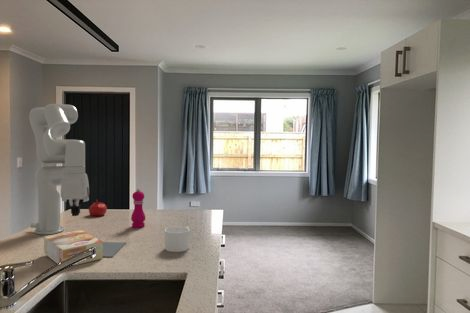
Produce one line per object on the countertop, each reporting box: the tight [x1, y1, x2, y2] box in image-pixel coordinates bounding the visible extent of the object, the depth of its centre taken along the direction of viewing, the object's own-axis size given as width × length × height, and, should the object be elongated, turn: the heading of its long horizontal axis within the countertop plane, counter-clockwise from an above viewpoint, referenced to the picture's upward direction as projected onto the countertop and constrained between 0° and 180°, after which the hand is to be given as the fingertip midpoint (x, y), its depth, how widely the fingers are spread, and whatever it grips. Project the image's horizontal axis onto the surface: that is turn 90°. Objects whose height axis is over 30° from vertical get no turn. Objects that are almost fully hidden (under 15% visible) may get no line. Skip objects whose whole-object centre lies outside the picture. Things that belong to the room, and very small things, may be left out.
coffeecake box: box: [43, 229, 104, 267], centre depth 142 cm, size 15×7×20 cm
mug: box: [164, 226, 191, 253], centre depth 156 cm, size 13×10×8 cm
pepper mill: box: [130, 187, 146, 229], centre depth 192 cm, size 7×7×20 cm
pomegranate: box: [88, 199, 108, 217], centre depth 217 cm, size 10×10×9 cm
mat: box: [103, 241, 127, 258], centre depth 152 cm, size 20×19×1 cm
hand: (75, 215), depth 151 cm, fingers closed
